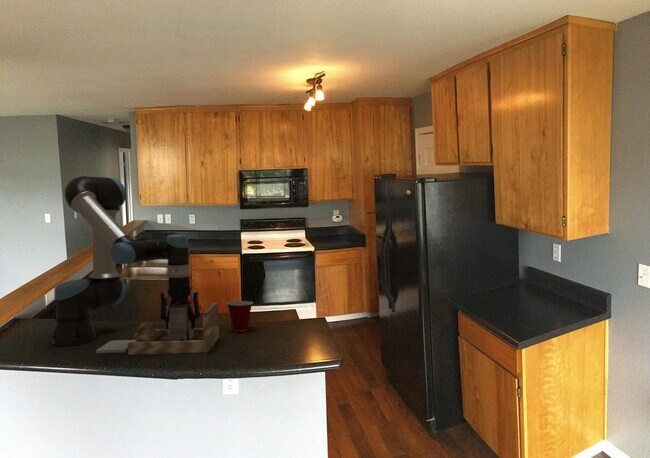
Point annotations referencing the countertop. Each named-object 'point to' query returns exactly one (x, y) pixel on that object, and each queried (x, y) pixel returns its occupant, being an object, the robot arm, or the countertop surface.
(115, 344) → the mat
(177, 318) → the coffee box
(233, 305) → the plastic cup
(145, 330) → the offcut stack
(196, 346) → the rack
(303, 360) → the countertop surface
